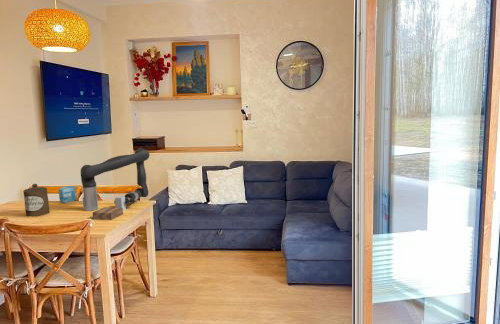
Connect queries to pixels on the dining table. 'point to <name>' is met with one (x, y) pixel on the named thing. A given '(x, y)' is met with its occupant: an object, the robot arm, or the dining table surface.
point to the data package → (67, 194)
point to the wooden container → (36, 201)
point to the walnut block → (107, 213)
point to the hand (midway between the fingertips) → (120, 202)
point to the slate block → (120, 202)
